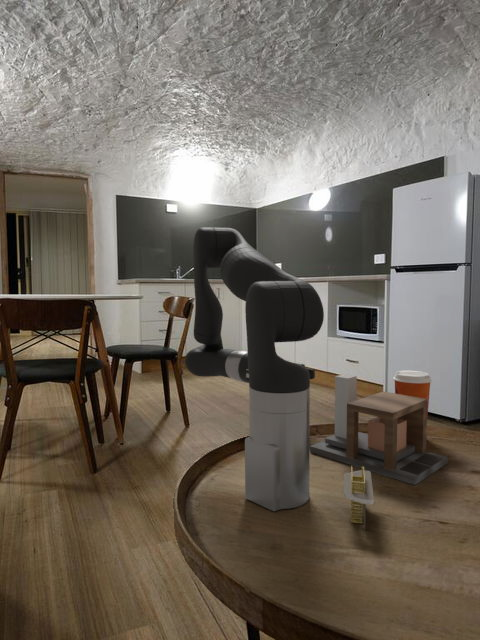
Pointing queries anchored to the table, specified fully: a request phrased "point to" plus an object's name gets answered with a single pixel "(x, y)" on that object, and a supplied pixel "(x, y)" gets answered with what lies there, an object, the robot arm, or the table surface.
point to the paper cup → (413, 384)
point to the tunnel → (388, 438)
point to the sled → (376, 427)
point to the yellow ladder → (359, 497)
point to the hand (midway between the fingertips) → (301, 377)
